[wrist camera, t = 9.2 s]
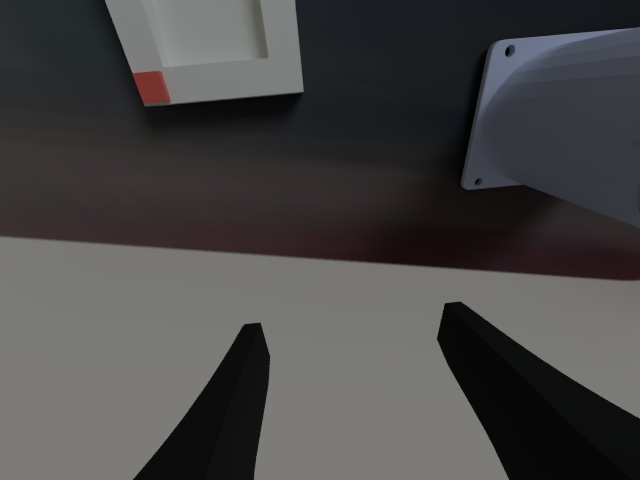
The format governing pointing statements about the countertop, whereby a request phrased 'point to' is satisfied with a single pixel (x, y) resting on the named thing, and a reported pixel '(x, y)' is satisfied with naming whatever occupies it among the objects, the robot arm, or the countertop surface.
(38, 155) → the countertop surface
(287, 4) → the white square recessed tray
